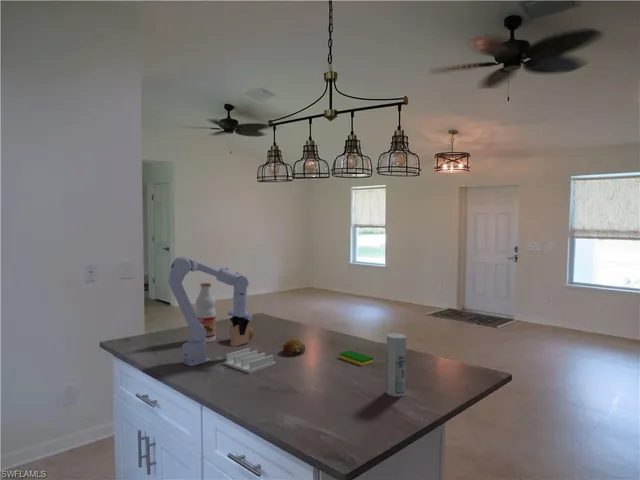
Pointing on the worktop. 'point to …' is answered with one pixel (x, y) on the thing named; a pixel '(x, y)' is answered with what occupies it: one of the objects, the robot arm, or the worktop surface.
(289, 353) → the bread roll
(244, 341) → the tile
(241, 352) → the dish rack
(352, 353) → the dish sponge
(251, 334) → the potato
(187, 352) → the robot arm
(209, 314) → the fruit juice
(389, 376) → the spray can
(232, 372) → the worktop surface
